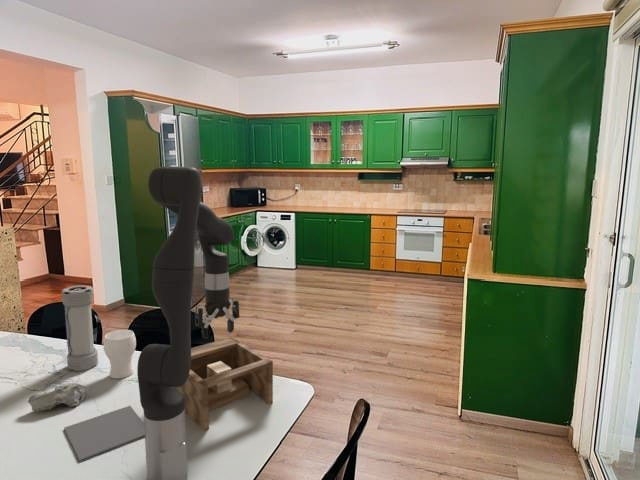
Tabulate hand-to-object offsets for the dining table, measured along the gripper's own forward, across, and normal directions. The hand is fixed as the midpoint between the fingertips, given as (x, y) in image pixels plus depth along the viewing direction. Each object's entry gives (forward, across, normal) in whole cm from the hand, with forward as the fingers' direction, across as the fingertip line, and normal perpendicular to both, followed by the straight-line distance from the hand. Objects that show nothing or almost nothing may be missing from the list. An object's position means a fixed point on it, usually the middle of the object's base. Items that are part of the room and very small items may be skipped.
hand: (218, 334), depth 135 cm
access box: (+22, 0, 0) cm, 22 cm away
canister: (+22, -28, +54) cm, 65 cm away
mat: (+22, -33, +4) cm, 40 cm away
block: (+18, 0, 0) cm, 18 cm away
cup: (+22, -19, +38) cm, 48 cm away
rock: (+22, -40, +28) cm, 53 cm away
